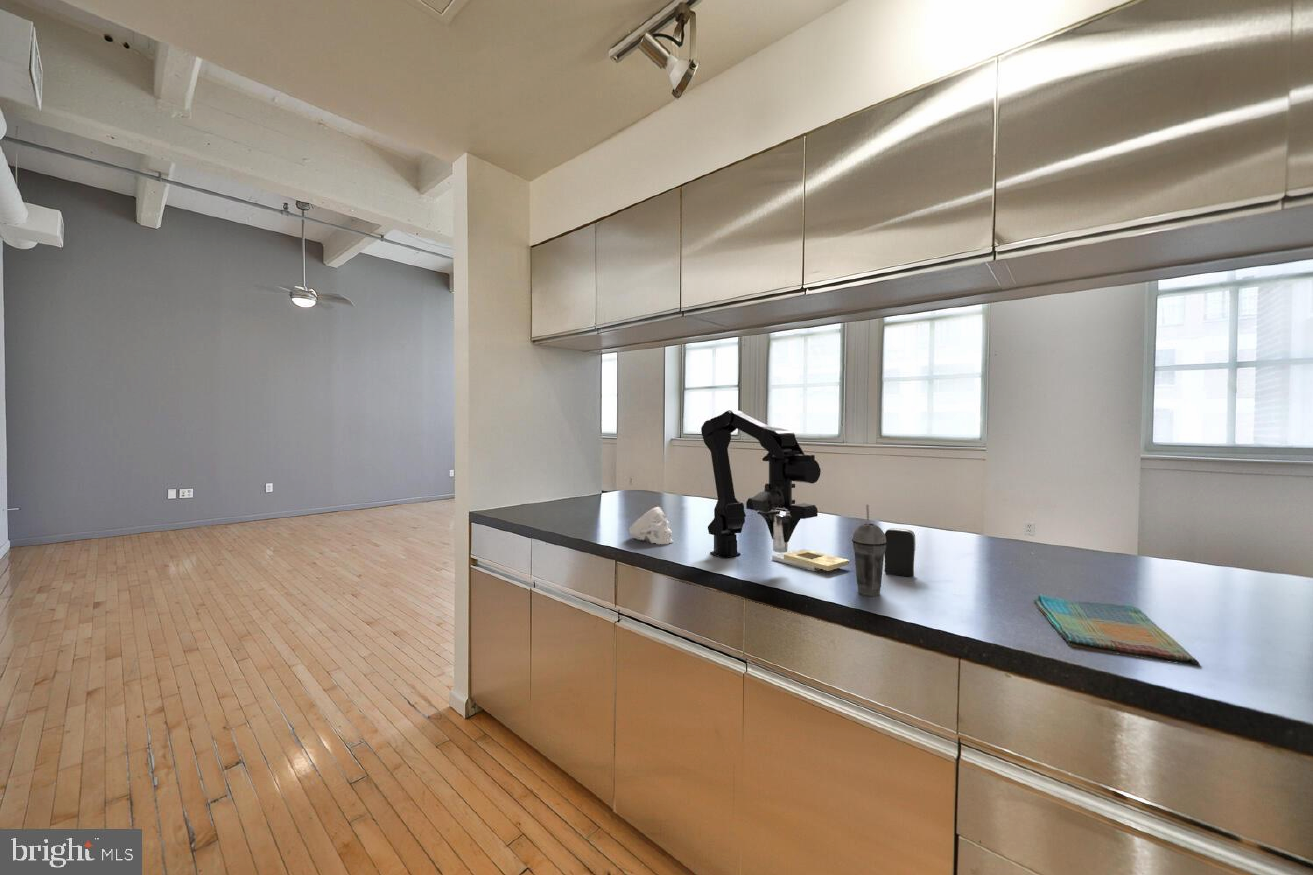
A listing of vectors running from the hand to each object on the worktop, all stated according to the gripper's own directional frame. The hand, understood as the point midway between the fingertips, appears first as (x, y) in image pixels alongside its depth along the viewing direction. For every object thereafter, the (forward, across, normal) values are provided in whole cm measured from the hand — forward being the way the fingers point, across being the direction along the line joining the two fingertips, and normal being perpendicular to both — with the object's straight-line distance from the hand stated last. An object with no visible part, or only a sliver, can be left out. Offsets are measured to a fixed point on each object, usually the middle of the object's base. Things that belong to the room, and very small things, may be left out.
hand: (780, 540), depth 127 cm
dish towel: (+9, +59, +20) cm, 63 cm away
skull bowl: (+8, -48, -6) cm, 49 cm away
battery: (+8, +19, +23) cm, 31 cm away
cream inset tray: (+8, 0, +12) cm, 15 cm away
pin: (+3, 0, 0) cm, 3 cm away
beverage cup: (+8, +22, +4) cm, 24 cm away
